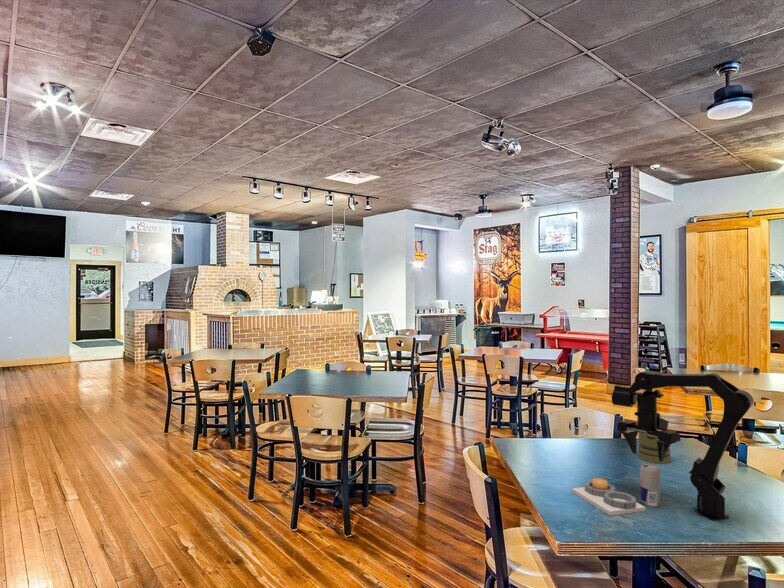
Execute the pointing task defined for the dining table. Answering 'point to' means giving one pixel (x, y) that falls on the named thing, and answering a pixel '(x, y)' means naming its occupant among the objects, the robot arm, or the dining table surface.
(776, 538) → the dining table surface
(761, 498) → the dining table surface
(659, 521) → the dining table surface
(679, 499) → the dining table surface
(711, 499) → the robot arm
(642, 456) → the piston
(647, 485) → the energy drink
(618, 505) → the housing
